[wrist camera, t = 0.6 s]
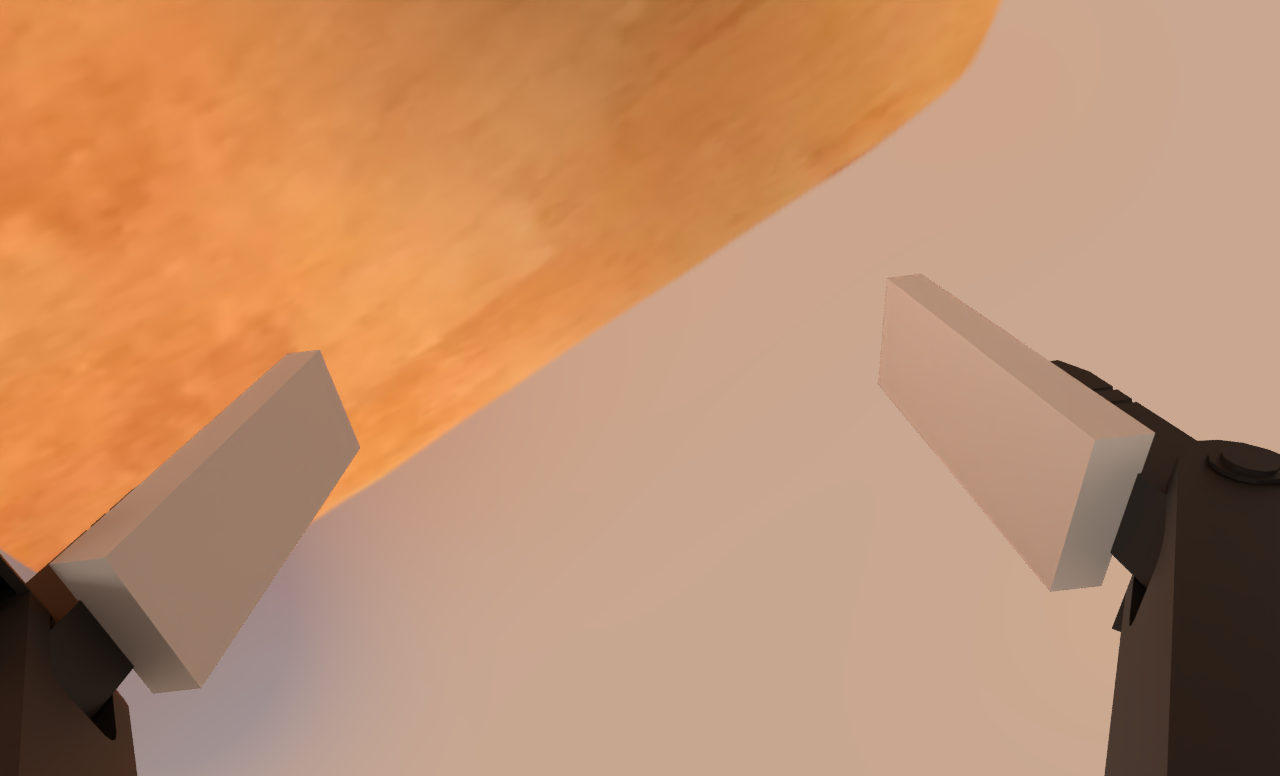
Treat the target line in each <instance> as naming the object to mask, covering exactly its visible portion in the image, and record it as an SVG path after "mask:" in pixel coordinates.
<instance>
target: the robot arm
mask: <svg viewBox="0 0 1280 776" xmlns="http://www.w3.org/2000/svg"><path fill="white" fill-rule="evenodd" d="M878 385H879V386H880V387H881V388H882V390H884V392H885V393H886V394H887V396H888V397H889V398H890V399H891V400H892V402H893V403H894V404H895V405H896V406H897V408H898V409H899V410H900V411H901V412H902V414H903V415H904V416H905V417H906V418H907V420H908V421H909V422H910V423H911V425H912V426H913V427H914V428H915V429H916V431H917V432H918V433H919V434H920V435H921V437H922V438H923V439H924V440H925V441H926V443H927V444H928V445H929V446H930V447H931V449H932V450H933V451H934V452H935V453H936V454H937V456H938V457H939V458H940V460H941V461H942V462H943V463H944V464H945V466H946V467H947V468H948V469H949V470H950V471H951V473H952V474H953V475H954V476H955V478H956V479H957V480H958V481H959V482H960V483H961V485H962V486H963V487H964V488H965V490H966V491H967V492H968V493H969V494H970V496H971V497H972V498H973V499H974V500H975V502H976V503H977V504H978V505H979V506H980V508H981V509H982V510H983V511H984V513H985V514H986V515H987V516H988V517H989V519H990V520H991V521H992V522H993V523H994V524H995V526H996V527H997V528H998V529H999V531H1000V532H1001V533H1002V534H1003V535H1004V537H1005V538H1006V539H1007V540H1008V541H1009V543H1010V544H1011V545H1012V546H1013V547H1014V549H1015V550H1016V551H1017V552H1018V553H1019V555H1020V556H1021V557H1022V558H1023V559H1024V561H1025V562H1026V563H1027V564H1028V566H1029V567H1030V568H1031V569H1032V570H1033V572H1034V573H1035V574H1036V575H1037V576H1038V578H1039V579H1040V580H1041V581H1042V582H1043V584H1044V585H1045V586H1046V587H1047V588H1048V590H1049V591H1050V592H1051V591H1060V590H1069V589H1078V588H1086V587H1095V586H1101V585H1102V583H1103V580H1104V577H1105V574H1106V571H1107V568H1108V566H1109V563H1110V560H1111V557H1112V555H1113V556H1114V557H1115V558H1116V559H1117V560H1118V561H1119V562H1120V563H1121V564H1122V565H1123V566H1125V568H1126V569H1128V570H1129V572H1130V573H1131V574H1132V577H1131V580H1130V583H1129V585H1128V588H1127V591H1126V593H1125V596H1124V598H1123V601H1122V604H1121V606H1120V609H1119V612H1118V614H1117V617H1116V619H1115V622H1114V625H1113V627H1112V629H1114V630H1117V631H1120V632H1121V637H1120V646H1119V655H1118V663H1117V673H1116V681H1115V690H1114V699H1113V707H1112V715H1111V724H1110V733H1109V741H1108V751H1107V759H1106V767H1105V776H1280V454H1278V453H1275V452H1273V451H1271V450H1268V449H1264V448H1260V447H1257V446H1253V445H1249V444H1245V443H1239V442H1231V441H1223V440H1207V441H1196V440H1195V439H1193V438H1192V437H1190V436H1189V435H1187V434H1186V433H1184V432H1183V431H1181V430H1179V429H1178V428H1176V427H1175V426H1173V425H1172V424H1170V423H1169V422H1167V421H1165V420H1164V419H1162V418H1161V417H1159V416H1158V415H1156V414H1155V413H1153V412H1151V411H1150V410H1148V409H1147V408H1145V407H1144V406H1142V405H1141V404H1139V403H1137V402H1134V403H1133V402H1132V399H1131V398H1130V397H1128V396H1127V395H1125V394H1123V393H1122V392H1120V391H1119V390H1113V387H1112V386H1111V385H1109V384H1108V383H1106V382H1105V381H1103V380H1102V379H1100V378H1098V377H1097V376H1096V375H1094V374H1092V373H1091V372H1089V371H1086V370H1084V369H1080V368H1078V367H1075V366H1073V365H1070V364H1067V363H1064V362H1062V361H1058V360H1056V361H1049V360H1047V359H1045V358H1044V357H1043V356H1041V355H1040V354H1038V353H1037V352H1035V351H1034V350H1032V349H1031V348H1029V347H1028V346H1026V345H1025V344H1023V343H1022V342H1021V341H1019V340H1018V339H1016V338H1015V337H1013V336H1012V335H1010V334H1009V333H1007V332H1006V331H1004V330H1003V329H1001V328H1000V327H998V326H997V325H995V324H994V323H993V322H991V321H990V320H988V319H987V318H985V317H984V316H982V315H981V314H979V313H978V312H976V311H975V310H973V309H972V308H970V307H969V306H968V305H966V304H965V303H963V302H961V301H960V300H959V299H957V298H956V297H954V296H953V295H951V294H950V293H948V292H947V291H945V290H944V289H942V288H941V287H940V286H938V285H936V284H935V283H934V282H932V281H931V280H929V279H928V278H926V277H925V276H923V275H922V274H918V275H910V276H901V277H893V278H887V287H886V299H885V311H884V323H883V335H882V348H881V359H880V371H879V384H878ZM359 449H360V446H359V443H358V441H357V439H356V436H355V434H354V431H353V429H352V427H351V424H350V422H349V419H348V417H347V414H346V412H345V410H344V407H343V405H342V402H341V400H340V398H339V395H338V393H337V390H336V388H335V386H334V383H333V381H332V378H331V376H330V374H329V371H328V369H327V366H326V364H325V361H324V359H323V357H322V354H321V352H320V350H314V351H306V352H298V353H290V354H287V355H285V356H284V357H283V358H282V359H281V360H280V361H279V362H277V363H276V364H275V365H274V366H273V367H272V368H271V369H270V370H268V371H267V372H266V373H265V374H264V375H263V376H262V377H261V378H259V379H258V380H257V381H256V382H255V383H254V384H253V385H251V386H250V387H249V388H248V389H247V390H246V391H245V392H244V393H242V394H241V395H240V396H239V397H238V398H237V399H236V400H234V401H233V402H232V403H231V404H230V405H229V406H228V407H227V408H225V409H224V410H223V411H222V412H221V413H220V414H219V415H217V416H216V417H215V418H214V419H213V420H212V421H211V422H210V423H208V424H207V425H206V426H205V427H204V428H203V429H202V430H201V431H199V432H198V433H197V434H196V435H195V436H194V437H193V438H191V439H190V440H189V441H188V442H187V443H186V444H185V445H184V446H182V447H181V448H180V449H179V450H178V451H177V452H176V453H174V454H173V455H172V456H171V457H170V458H169V459H168V460H167V461H165V462H164V463H163V464H162V465H161V466H160V467H159V468H157V469H156V470H155V471H154V472H153V473H152V474H151V475H150V476H148V477H147V478H146V479H145V480H144V481H143V482H142V483H140V484H139V485H138V486H137V487H136V488H134V489H133V490H131V491H130V492H129V493H128V494H127V495H126V496H125V497H123V498H122V499H121V500H120V501H119V502H118V503H117V504H115V505H114V506H113V507H112V508H111V509H110V511H109V512H108V513H107V514H104V515H103V516H102V517H101V518H100V519H98V520H97V521H96V522H95V523H94V524H93V525H92V526H91V528H90V529H88V530H86V531H85V532H84V533H83V534H81V535H80V536H79V537H78V538H77V539H76V540H75V541H73V542H72V543H71V544H70V545H69V546H68V547H67V548H66V549H64V550H63V551H62V552H61V553H60V554H59V555H58V556H56V557H55V558H54V559H53V560H52V561H51V562H50V563H48V564H47V565H46V566H45V567H44V568H43V569H42V570H41V571H39V572H38V573H37V574H36V575H35V576H34V577H33V578H32V579H30V580H29V581H28V582H27V583H25V582H24V581H23V580H22V579H21V578H20V577H19V575H18V574H17V573H16V572H15V571H14V569H13V568H12V567H11V566H10V565H9V563H8V562H7V561H6V560H5V559H4V558H3V557H2V555H1V554H0V776H137V771H136V762H135V754H134V746H133V738H132V731H131V723H130V715H129V707H128V705H127V703H126V702H125V700H124V698H123V697H122V696H121V695H120V694H119V692H118V691H117V690H116V689H117V688H118V686H119V685H120V684H121V682H122V681H123V680H124V679H125V678H126V676H127V675H128V674H129V673H130V671H131V670H132V669H134V671H135V672H136V673H137V674H138V675H139V677H140V678H141V679H142V680H143V682H144V683H145V684H146V685H147V687H148V688H149V689H150V690H151V691H152V693H162V692H171V691H180V690H188V689H197V688H201V687H202V686H203V684H204V683H205V681H206V679H207V678H208V677H209V675H210V674H211V672H212V671H213V669H214V667H215V666H216V665H217V663H218V662H219V660H220V659H221V657H222V656H223V654H224V653H225V651H226V650H227V648H228V647H229V645H230V644H231V642H232V641H233V639H234V638H235V636H236V634H237V633H238V631H239V630H240V628H241V627H242V625H243V624H244V622H245V621H246V619H247V618H248V616H249V615H250V613H251V612H252V610H253V609H254V607H255V606H256V604H257V603H258V601H259V600H260V598H261V597H262V595H263V594H264V592H265V591H266V589H267V588H268V586H269V585H270V583H271V582H272V580H273V579H274V577H275V576H276V574H277V573H278V571H279V570H280V568H281V567H282V565H283V564H284V562H285V561H286V559H287V558H288V556H289V555H290V553H291V552H292V550H293V549H294V547H295V546H296V544H297V542H298V541H299V540H300V538H301V537H302V535H303V533H304V532H305V530H306V529H307V527H308V526H309V524H310V523H311V521H312V520H313V518H314V517H315V515H316V514H317V512H318V511H319V509H320V508H321V506H322V505H323V503H324V502H325V500H326V499H327V497H328V496H329V494H330V493H331V491H332V490H333V488H334V487H335V485H336V484H337V482H338V481H339V479H340V478H341V476H342V475H343V473H344V472H345V470H346V469H347V467H348V466H349V464H350V463H351V461H352V460H353V458H354V457H355V455H356V454H357V452H358V451H359Z"/></svg>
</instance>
